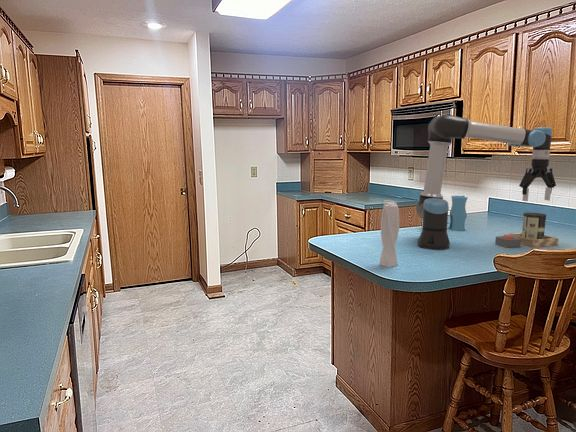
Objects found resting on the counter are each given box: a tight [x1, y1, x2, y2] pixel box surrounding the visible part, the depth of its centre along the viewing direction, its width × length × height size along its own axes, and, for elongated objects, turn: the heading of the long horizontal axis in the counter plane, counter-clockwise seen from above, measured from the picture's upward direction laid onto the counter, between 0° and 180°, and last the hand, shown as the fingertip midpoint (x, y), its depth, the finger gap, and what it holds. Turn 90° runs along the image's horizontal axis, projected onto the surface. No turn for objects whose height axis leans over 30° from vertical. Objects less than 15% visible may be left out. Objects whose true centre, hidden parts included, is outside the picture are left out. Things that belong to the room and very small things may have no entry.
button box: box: [494, 235, 522, 249], centre depth 216 cm, size 8×8×4 cm
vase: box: [448, 195, 469, 232], centre depth 255 cm, size 8×8×20 cm
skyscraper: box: [379, 199, 400, 268], centre depth 179 cm, size 8×8×28 cm
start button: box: [502, 233, 513, 239], centre depth 215 cm, size 4×4×4 cm
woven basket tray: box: [507, 232, 559, 248], centre depth 222 cm, size 16×16×4 cm
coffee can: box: [521, 212, 547, 240], centre depth 221 cm, size 10×10×14 cm
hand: (536, 200), depth 218 cm, fingers open, 13 cm apart
